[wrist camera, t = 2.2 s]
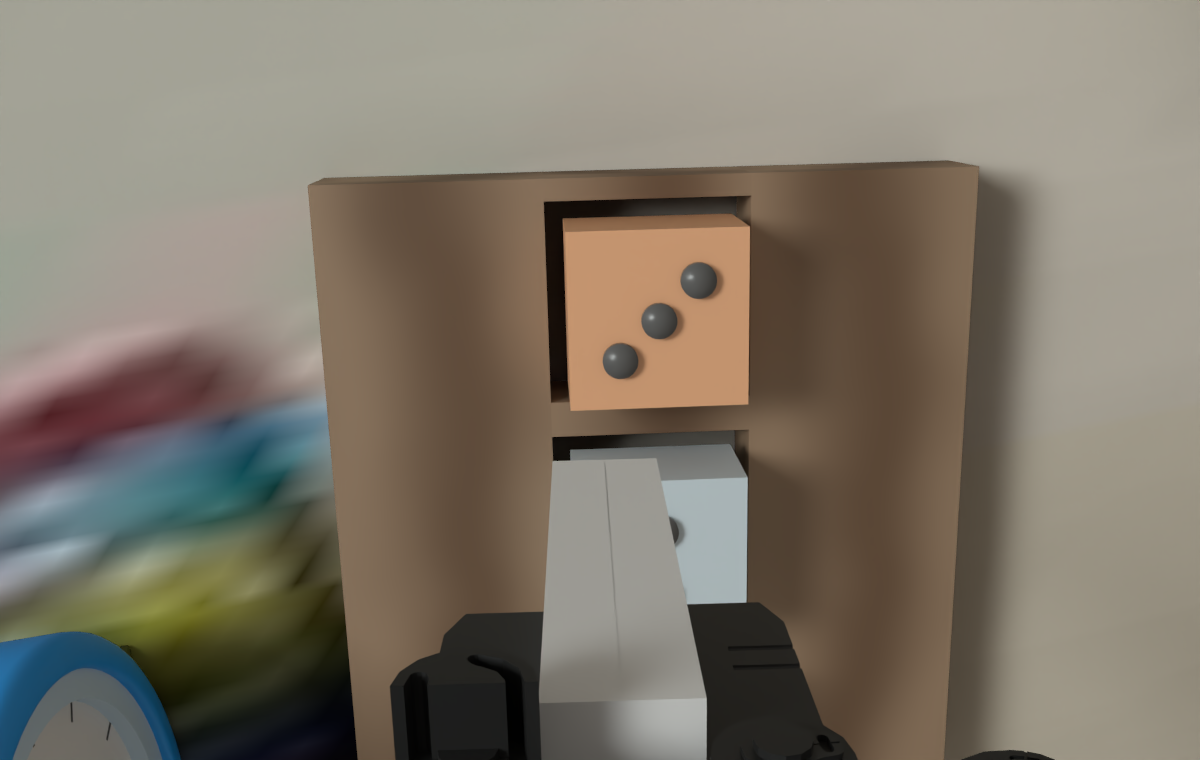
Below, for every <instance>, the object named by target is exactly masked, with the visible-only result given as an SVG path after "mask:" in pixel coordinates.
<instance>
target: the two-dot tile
mask: <svg viewBox="0 0 1200 760" xmlns="http://www.w3.org/2000/svg"><path fill="white" fill-rule="evenodd" d="M648 458H656V459H657V463H658V468H659V473H660V478H661V482H662V487H663V492H664V497H665V501H666V506H667V511H668V516H669V521H670V525H671V530H672V535H673V540H674V544H675V549H676V554H677V559H678V564H679V568H680V573H681V578H682V583H683V587H684V592H685V597H686V602H687V604H714V603H746V599H747V493H748V477H747V475H746V473H745V471H744V470H743V468H742V466H741V464H740V462H739V460H738V458H737V456H736V454H735V452H734V451H733V449H732V447H731V445H730V444H710V445H685V446H659V447H633V448H607V449H581V450H570V461H574V460H611V459H648Z"/></svg>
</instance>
